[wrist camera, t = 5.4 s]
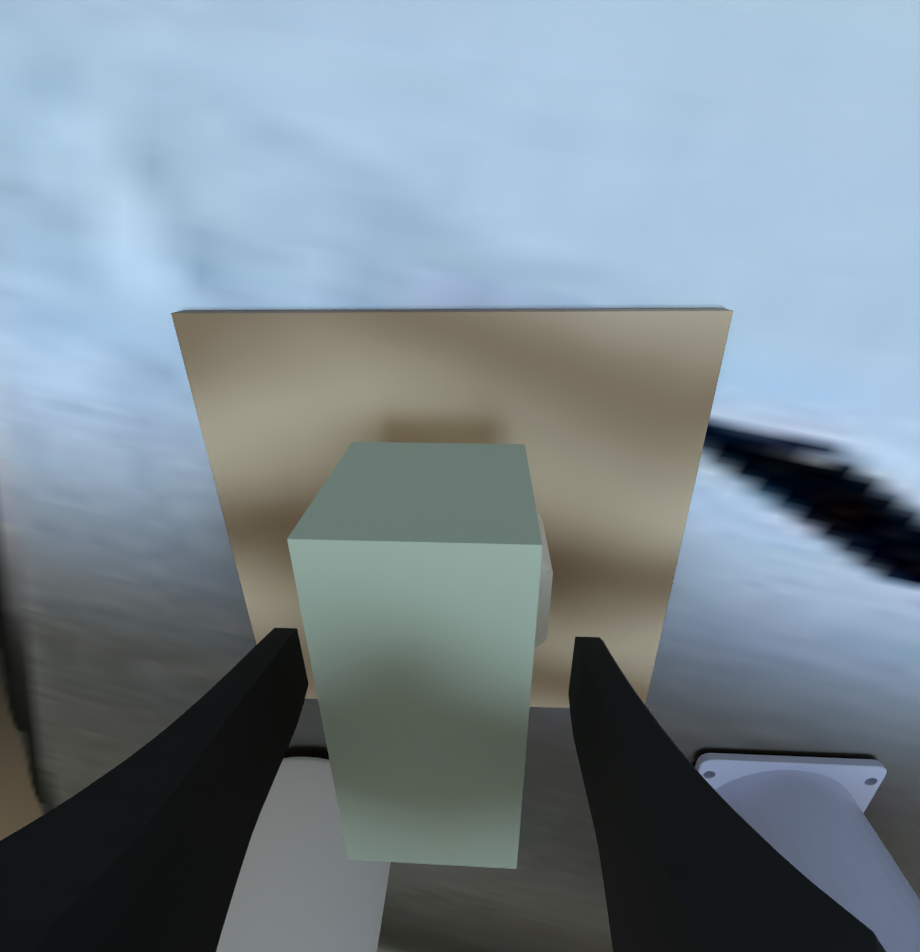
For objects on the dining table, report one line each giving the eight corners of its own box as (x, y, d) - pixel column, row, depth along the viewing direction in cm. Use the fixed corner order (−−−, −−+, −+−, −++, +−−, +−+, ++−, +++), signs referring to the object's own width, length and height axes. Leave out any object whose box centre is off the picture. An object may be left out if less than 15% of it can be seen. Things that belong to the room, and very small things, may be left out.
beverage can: (216, 754, 24) (-1, 1167, 13) (370, 735, 23) (266, 1172, 12) (281, 846, 28) (148, 1236, 17) (418, 834, 26) (369, 1246, 16)
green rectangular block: (509, 716, 17) (516, 869, 13) (381, 710, 17) (348, 859, 13) (524, 444, 12) (542, 545, 8) (351, 442, 13) (287, 538, 8)
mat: (640, 698, 21) (644, 710, 20) (275, 685, 22) (270, 697, 21) (723, 308, 14) (733, 310, 13) (182, 310, 15) (171, 313, 14)
